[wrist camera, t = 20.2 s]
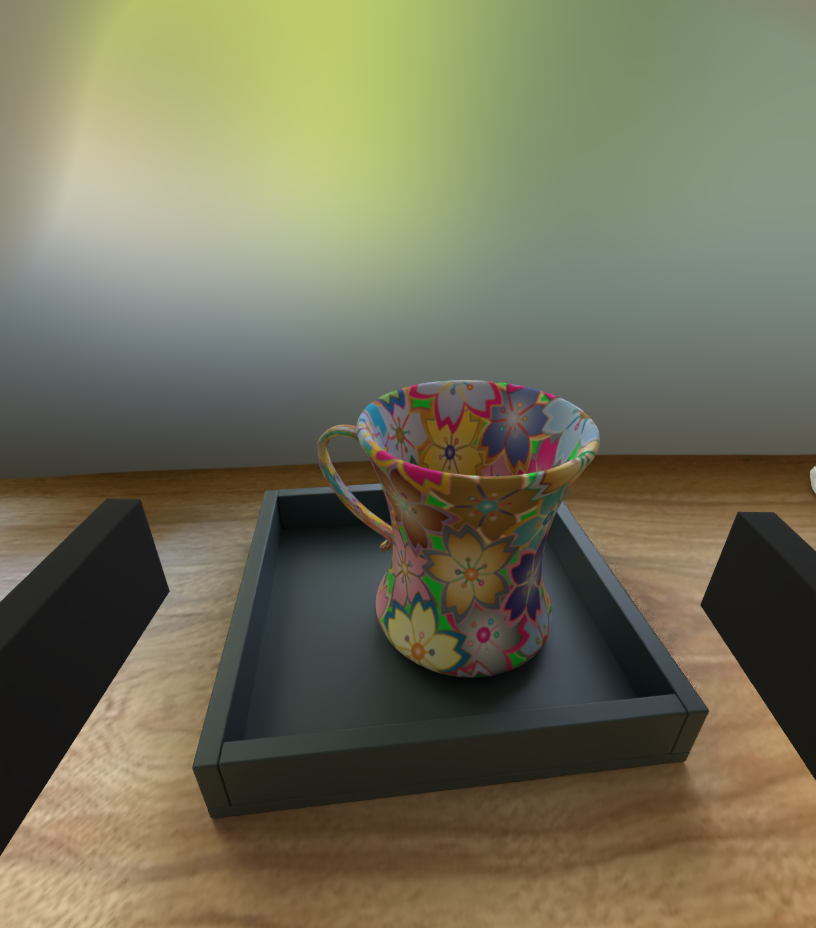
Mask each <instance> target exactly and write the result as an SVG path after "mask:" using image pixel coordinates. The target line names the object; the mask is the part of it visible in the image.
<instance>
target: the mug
mask: <svg viewBox="0 0 816 928" xmlns="http://www.w3.org/2000/svg"><path fill="white" fill-rule="evenodd" d="M335 436H346V437H350V438H352V439H355V440H357V441H358V442H360V444H361V446H362V447H363V449H364V451H365V452H366V454H367V456H368V458H369V460H370V461H371V463H372V465H373V467H374V469H375V471H376V473H377V476H378V478H379V480H380V483H381V485H382V488H383V491H384V494H385V497H386V500H387V504H388V507H389V512H390V517H391V523H392V527H391V526H390V525H388V524H387V523H385V522H384V521H383V520H381V519H380V518H378V517H377V516H376V515H374V514H373V513H372V512H371V511H369V510H368V509H367V508H366V507H365V506H363V505H362V504H361V503H360V502H359V501H358V500H357V499H356V498H355V497H354V495H353V494H352V493H351V492H350V491H349V490H348V488H347V487H346V486H345V484H344V483H343V482H342V480H341V479H340V477H339V476H338V474H337V472H336V471H335V469H334V467H333V465H332V462H331V460H330V457H329V453H328V443H329V440H330V439H331V438H332V437H335ZM599 445H600V435H599V431H598V428H597V426H596V424H595V423H594V422H593V420H592V419H591V418H590V417H589V416H588V415H587V414H586V413H585V412H583V411H582V410H581V409H579V408H578V407H577V406H575V405H573V404H571V403H570V402H567V401H566V400H564V399H561V398H559V397H557V396H554V395H551V394H549V393H546V392H543V391H539V390H536V389H532V388H528V387H523V386H519V385H513V384H507V383H500V382H491V381H474V380H455V381H440V382H431V383H424V384H418V385H413V386H409V387H406V388H402V389H399V390H395V391H393V392H390V393H388V394H386V395H383V396H381V397H380V398H378V399H376V400H375V401H373V402H372V403H371V404H369V405H368V406H367V407H366V408H365V409H364V410H363V412H362V413H361V415H360V417H359V419H358V422H357V427H355V426H351V425H339V426H335V427H332V428H330V429H329V430H327V431H326V432H325V433H323V435H322V436H321V437H320V438H319V441H318V443H317V447H316V452H317V453H316V454H317V460H318V463H319V466H320V469H321V471H322V473H323V475H324V477H325V479H326V480H327V482H328V484H329V485H330V487H331V488H332V490H333V491H334V492H335V494H336V495H337V496H338V498H339V499H340V500H341V501H342V502H343V503H344V505H345V506H346V507H347V508H348V509H349V510H350V511H351V512H352V513H353V514H354V515H355V516H356V517H358V518H359V519H360V520H361V521H362V522H364V523H365V524H366V525H367V526H369V527H370V528H372V529H373V530H374V531H376V532H377V533H379V534H380V535H382V536H383V537H384V538H386V539H387V540H386V541H384V542H383V543H382V544H381V546H380V548H379V549H380V551H381V552H386V551H388V550H389V549H391V548H392V547H393V548H392V556H391V561H390V565H389V568H388V570H387V572H386V574H385V575H384V577H383V579H382V580H381V582H380V585H379V587H378V591H377V595H376V614H377V618H378V621H379V624H380V626H381V628H382V631H383V632H384V634H385V636H386V637H387V639H388V640H389V641H390V643H391V644H392V645H393V646H394V647H395V648H396V649H397V650H398V651H399V652H400V653H401V654H403V655H404V656H405V657H407V658H408V659H410V660H411V661H413V662H415V663H416V664H418V665H420V666H422V667H424V668H426V669H429V670H432V671H434V672H437V673H441V674H444V675H449V676H455V677H463V678H478V677H488V676H494V675H498V674H502V673H505V672H508V671H511V670H513V669H515V668H517V667H519V666H521V665H523V664H524V663H526V662H527V661H529V660H530V659H531V658H533V657H534V656H535V655H536V654H537V653H538V652H539V650H540V649H541V648H542V646H543V645H544V643H545V641H546V640H547V638H548V636H549V633H550V630H551V627H552V619H553V616H552V607H551V602H550V598H549V596H548V593H547V591H546V589H545V587H544V583H543V577H542V560H543V552H544V547H545V543H546V539H547V535H548V532H549V529H550V527H551V524H552V522H553V519H554V517H555V515H556V513H557V511H558V509H559V506H560V505H561V503H562V501H563V499H564V498H565V496H566V495H567V493H568V491H569V490H570V488H571V487H572V485H573V484H574V483H575V481H576V480H577V478H578V477H579V476H580V474H581V473H582V472H583V471H584V469H585V468H586V467H587V466H588V465H589V464H590V462H591V461H592V460H593V459H594V457H595V455H596V453H597V451H598V449H599Z"/></svg>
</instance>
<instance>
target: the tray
mask: <svg viewBox="0 0 816 928" xmlns="http://www.w3.org/2000/svg"><path fill="white" fill-rule="evenodd" d="M346 487H347V488H348V490H349V491H350V492H351V493H352V494H353V495H354V497H355V498H356V499H357V500H358V501H359V502H360V503H361V504H362V505H363V506H365V507H366V508H367V509H368V510H369V511H371V512H372V513H373V514H374V515H376V516H377V517H378V518H380V519H381V520H383V521H384V522H385V523H387V524H388V525H390V526H391V527H392V523H391V517H390V512H389V507H388V504H387V500H386V497H385V494H384V491H383V488H382V485H381V484H370V485H354V486H346ZM386 540H387V539H386V538H384V537H383V536H382V535H380V534H379V533H377V532H376V531H374V530H373V529H372V528H370V527H369V526H367V525H366V524H365V523H364V522H362V521H361V520H360V519H359V518H358V517H356V516H355V515H354V514H353V513H352V512H351V511H350V510H349V509H348V508H347V507H346V506H345V505H344V503H343V502H342V501H341V500H340V499H339V498H338V496H337V495H336V494H335V492H334V491H333V490H332V488H331V487H320V488H303V489H286V490H279V491H278V490H267V491H265V495H264V499H263V502H262V506H261V510H260V514H259V518H258V521H257V525H256V529H255V533H254V536H253V540H252V544H251V548H250V552H249V555H248V559H247V563H246V567H245V570H244V574H243V578H242V582H241V585H240V589H239V593H238V597H237V601H236V604H235V608H234V612H233V616H232V619H231V623H230V627H229V631H228V635H227V638H226V642H225V646H224V650H223V653H222V657H221V661H220V665H219V669H218V672H217V676H216V680H215V684H214V687H213V691H212V695H211V699H210V702H209V706H208V710H207V714H206V718H205V721H204V725H203V729H202V733H201V736H200V740H199V744H198V748H197V752H196V755H195V759H194V763H193V767H192V769H193V772H194V774H195V777H196V780H197V782H198V785H199V787H200V790H201V793H202V795H203V798H204V801H205V803H206V806H207V808H208V812H209V815H210V817H211V818H220V817H228V816H236V815H245V814H253V813H261V812H269V811H278V810H286V809H294V808H302V807H311V806H319V805H327V804H335V803H344V802H352V801H360V800H368V799H377V798H385V797H393V796H401V795H409V794H418V793H426V792H434V791H442V790H451V789H459V788H467V787H475V786H484V785H492V784H500V783H508V782H517V781H525V780H533V779H541V778H550V777H558V776H566V775H574V774H583V773H591V772H599V771H607V770H616V769H624V768H632V767H640V766H649V765H657V764H665V763H673V762H682V761H686V759H687V757H688V755H689V753H690V752H689V751H690V750H691V748H692V746H693V744H694V742H695V740H696V737H697V735H698V733H699V731H700V729H701V727H702V725H703V723H704V721H705V719H706V716H707V714H708V712H709V710H708V708H707V707H706V705H705V704H704V702H703V701H702V699H701V698H700V697H699V695H698V694H697V692H696V691H695V689H694V688H693V687H692V685H691V684H690V682H689V681H688V679H687V678H686V677H685V675H684V674H683V672H682V671H681V669H680V668H679V667H678V665H677V664H676V662H675V661H674V659H673V658H672V657H671V655H670V654H669V652H668V651H667V649H666V648H665V647H664V645H663V644H662V642H661V641H660V639H659V638H658V637H657V635H656V634H655V632H654V631H653V630H652V628H651V627H650V625H649V624H648V622H647V621H646V620H645V618H644V617H643V615H642V614H641V612H640V611H639V610H638V608H637V607H636V605H635V604H634V602H633V601H632V600H631V598H630V597H629V595H628V594H627V592H626V591H625V590H624V588H623V587H622V585H621V584H620V582H619V581H618V580H617V578H616V577H615V575H614V574H613V572H612V571H611V570H610V568H609V567H608V565H607V564H606V562H605V561H604V560H603V558H602V557H601V555H600V554H599V552H598V551H597V550H596V548H595V547H594V545H593V544H592V542H591V541H590V540H589V538H588V537H587V535H586V534H585V532H584V531H583V530H582V528H581V527H580V525H579V524H578V522H577V521H576V520H575V518H574V517H573V515H572V514H571V512H570V511H569V510H568V508H567V507H566V505H565V504H564V502H563V501H562V503H561V505H560V506H559V509H558V511H557V513H556V515H555V517H554V519H553V522H552V524H551V527H550V529H549V532H548V535H547V539H546V543H545V547H544V552H543V560H542V577H543V583H544V587H545V589H546V591H547V593H548V596H549V598H550V602H551V607H552V616H553V619H552V627H551V630H550V633H549V636H548V638H547V640H546V641H545V643H544V645H543V646H542V648H541V649H540V650H539V652H538V653H537V654H536V655H535V656H534V657H533V658H531V659H530V660H529V661H527V662H526V663H524V664H523V665H521V666H519V667H517V668H515V669H513V670H511V671H508V672H505V673H502V674H498V675H494V676H488V677H478V678H463V677H455V676H449V675H444V674H441V673H437V672H434V671H432V670H429V669H426V668H424V667H422V666H420V665H418V664H416V663H415V662H413V661H411V660H410V659H408V658H407V657H405V656H404V655H403V654H401V653H400V652H399V651H398V650H397V649H396V648H395V647H394V646H393V645H392V644H391V643H390V641H389V640H388V639H387V637H386V636H385V634H384V632H383V631H382V628H381V626H380V624H379V621H378V618H377V614H376V595H377V591H378V587H379V585H380V582H381V580H382V579H383V577H384V575H385V574H386V572H387V570H388V568H389V565H390V561H391V556H392V548H393V547H392V548H391V549H389V550H388V551H386V552H381V551H380V549H379V548H380V546H381V544H382V543H383V542H384V541H386Z"/></svg>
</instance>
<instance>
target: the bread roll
mask: <svg viewBox="0 0 816 928" xmlns="http://www.w3.org/2000/svg"><path fill="white" fill-rule="evenodd" d="M810 479H811V486H812V489H813V490H814V492H815V494H816V466H815V467H814V468H813V469H812V470H811V471H810Z"/></svg>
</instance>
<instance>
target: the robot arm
mask: <svg viewBox="0 0 816 928" xmlns="http://www.w3.org/2000/svg"><path fill="white" fill-rule="evenodd" d="M169 592H170V591H169V588H168V585H167V581H166V578H165V575H164V572H163V569H162V566H161V563H160V559H159V556H158V553H157V550H156V547H155V544H154V540H153V537H152V534H151V531H150V528H149V525H148V522H147V518H146V515H145V512H144V509H143V506H142V503H141V500H138V499H106V500H105V501H104V502H103V503H102V504H101V505H100V506H99V507H98V508H97V509H96V510H95V511H94V512H93V513H92V514H91V515H90V516H89V517H88V518H87V519H86V520H85V521H84V522H82V523H81V524H80V525H79V526H78V527H77V528H76V529H75V530H74V531H73V532H72V533H71V534H70V535H69V536H68V537H67V538H66V539H65V540H64V541H63V542H62V543H61V544H60V545H59V546H58V547H57V548H56V549H55V550H54V551H52V552H51V553H50V554H49V555H48V556H47V557H46V558H45V559H44V560H43V561H42V562H41V563H40V564H39V565H38V566H37V567H36V568H35V569H34V570H33V571H32V572H31V573H30V574H29V575H28V576H27V577H26V578H25V579H24V580H23V581H21V582H20V583H19V584H18V585H17V586H16V587H15V588H14V589H13V590H12V591H11V592H10V593H9V594H8V595H7V596H6V597H5V598H4V599H3V600H2V601H1V602H0V856H1V854H2V853H3V851H4V849H5V848H6V846H7V845H8V843H9V842H10V840H11V838H12V837H13V835H14V834H15V832H16V831H17V829H18V828H19V826H20V824H21V823H22V821H23V820H24V818H25V817H26V815H27V813H28V812H29V810H30V809H31V807H32V806H33V804H34V803H35V801H36V799H37V798H38V796H39V795H40V793H41V792H42V790H43V788H44V787H45V785H46V784H47V782H48V781H49V779H50V778H51V776H52V774H53V773H54V771H55V770H56V768H57V767H58V765H59V763H60V762H61V760H62V759H63V757H64V756H65V754H66V753H67V751H68V749H69V748H70V746H71V745H72V743H73V742H74V740H75V738H76V737H77V735H78V734H79V732H80V731H81V729H82V727H83V726H84V724H85V723H86V721H87V720H88V718H89V717H90V715H91V713H92V712H93V710H94V709H95V707H96V706H97V704H98V702H99V701H100V699H101V698H102V696H103V695H104V693H105V692H106V690H107V688H108V687H109V685H110V684H111V682H112V681H113V679H114V677H115V676H116V674H117V673H118V671H119V670H120V668H121V667H122V665H123V663H124V662H125V660H126V659H127V657H128V656H129V654H130V652H131V651H132V649H133V648H134V646H135V645H136V643H137V642H138V640H139V638H140V637H141V635H142V634H143V632H144V631H145V629H146V627H147V626H148V624H149V623H150V621H151V620H152V618H153V617H154V615H155V613H156V612H157V610H158V609H159V607H160V606H161V604H162V602H163V601H164V599H165V598H166V596H167V595H168V593H169ZM701 607H702V608H703V610H704V611H705V613H706V614H707V616H708V617H709V619H710V620H711V622H712V623H713V625H714V626H715V628H716V630H717V631H718V633H719V634H720V636H721V637H722V639H723V640H724V642H725V643H726V645H727V646H728V648H729V649H730V651H731V652H732V654H733V655H734V657H735V658H736V660H737V661H738V663H739V664H740V666H741V668H742V669H743V671H744V672H745V674H746V675H747V677H748V678H749V680H750V681H751V683H752V684H753V686H754V687H755V689H756V690H757V692H758V693H759V695H760V696H761V698H762V699H763V701H764V702H765V704H766V705H767V707H768V709H769V710H770V712H771V713H772V715H773V716H774V718H775V719H776V721H777V722H778V724H779V725H780V727H781V728H782V730H783V731H784V733H785V734H786V736H787V737H788V739H789V740H790V742H791V743H792V745H793V747H794V748H795V750H796V751H797V753H798V754H799V756H800V757H801V759H802V760H803V762H804V763H805V765H806V766H807V768H808V769H809V771H810V772H811V774H812V775H813V777H814V778H815V780H816V551H815V550H814V549H813V548H812V547H811V546H809V545H808V544H807V543H806V542H805V541H804V540H803V539H802V538H801V537H800V536H799V535H798V534H797V533H795V532H794V531H793V530H792V529H791V528H790V527H789V526H788V525H787V524H786V523H785V522H784V521H783V520H782V519H780V518H779V517H778V516H777V515H776V514H775V513H774V512H738V513H737V515H736V518H735V520H734V523H733V525H732V528H731V530H730V533H729V535H728V538H727V540H726V542H725V545H724V547H723V550H722V552H721V555H720V557H719V560H718V562H717V565H716V567H715V570H714V572H713V575H712V577H711V580H710V582H709V585H708V587H707V590H706V592H705V595H704V597H703V600H702V602H701Z"/></svg>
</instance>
